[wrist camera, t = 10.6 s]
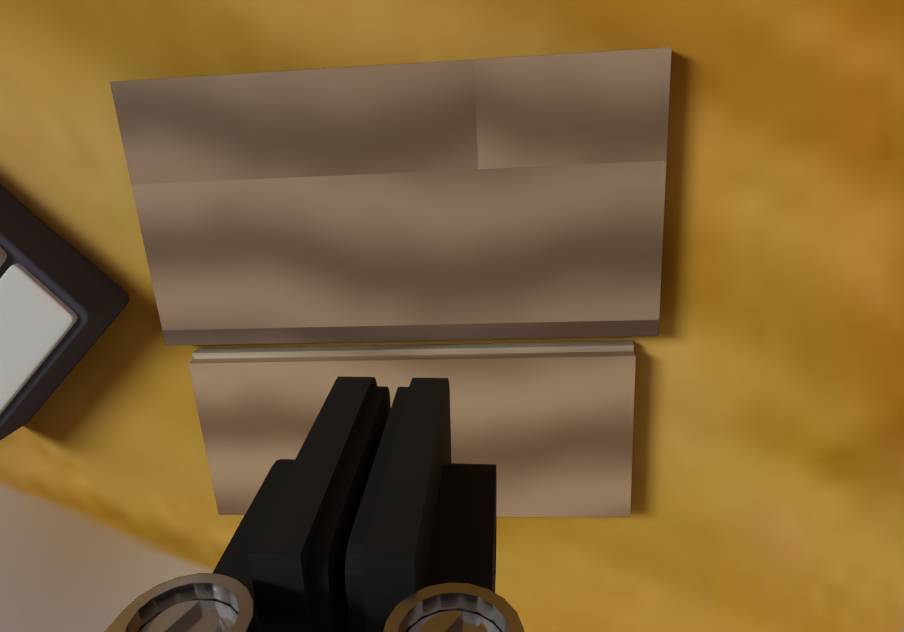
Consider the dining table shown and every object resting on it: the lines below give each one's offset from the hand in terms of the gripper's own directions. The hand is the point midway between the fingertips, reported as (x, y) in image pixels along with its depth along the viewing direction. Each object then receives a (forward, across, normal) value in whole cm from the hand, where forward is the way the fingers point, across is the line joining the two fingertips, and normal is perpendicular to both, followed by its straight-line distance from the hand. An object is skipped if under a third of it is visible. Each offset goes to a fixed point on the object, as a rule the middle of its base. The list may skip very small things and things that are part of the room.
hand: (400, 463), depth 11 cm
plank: (+23, +3, +13) cm, 26 cm away
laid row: (+23, +4, +1) cm, 23 cm away
